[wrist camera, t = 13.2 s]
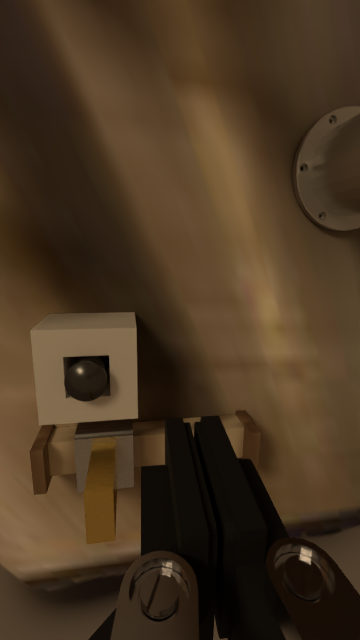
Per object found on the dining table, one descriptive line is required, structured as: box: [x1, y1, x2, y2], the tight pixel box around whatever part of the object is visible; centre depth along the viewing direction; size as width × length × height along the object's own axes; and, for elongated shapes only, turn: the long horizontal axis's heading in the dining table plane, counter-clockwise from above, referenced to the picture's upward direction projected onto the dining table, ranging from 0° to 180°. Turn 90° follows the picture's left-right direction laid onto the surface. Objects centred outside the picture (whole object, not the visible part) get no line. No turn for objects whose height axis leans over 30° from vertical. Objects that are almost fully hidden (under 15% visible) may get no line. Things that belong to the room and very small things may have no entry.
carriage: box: [74, 419, 134, 544], centre depth 32 cm, size 6×7×11 cm
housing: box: [30, 312, 138, 425], centre depth 32 cm, size 9×9×7 cm
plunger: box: [64, 355, 107, 402], centre depth 31 cm, size 4×4×7 cm
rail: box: [30, 410, 261, 495], centre depth 37 cm, size 24×5×5 cm, turn 89°
